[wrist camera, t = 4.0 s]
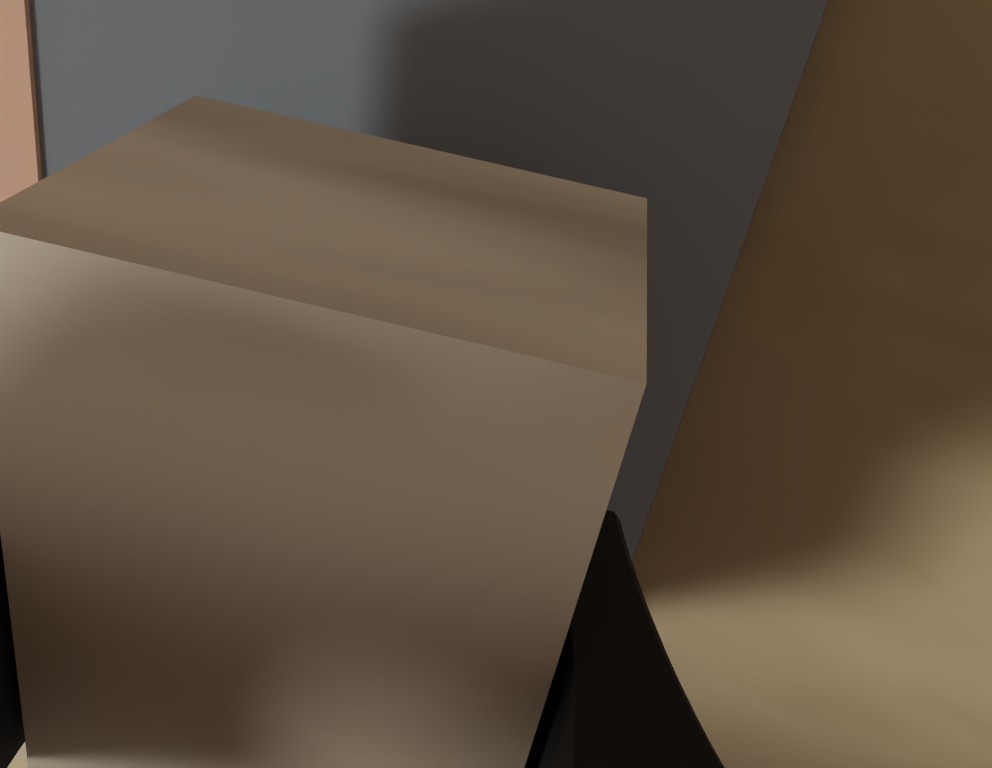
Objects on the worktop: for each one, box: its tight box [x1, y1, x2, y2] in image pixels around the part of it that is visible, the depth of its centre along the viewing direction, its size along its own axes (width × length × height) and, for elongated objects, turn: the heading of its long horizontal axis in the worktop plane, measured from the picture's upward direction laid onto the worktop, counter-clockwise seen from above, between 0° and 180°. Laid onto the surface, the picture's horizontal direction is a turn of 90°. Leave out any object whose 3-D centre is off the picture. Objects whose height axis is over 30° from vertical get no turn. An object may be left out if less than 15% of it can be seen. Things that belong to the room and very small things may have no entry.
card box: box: [0, 95, 647, 768], centre depth 11 cm, size 9×5×4 cm, turn 169°
